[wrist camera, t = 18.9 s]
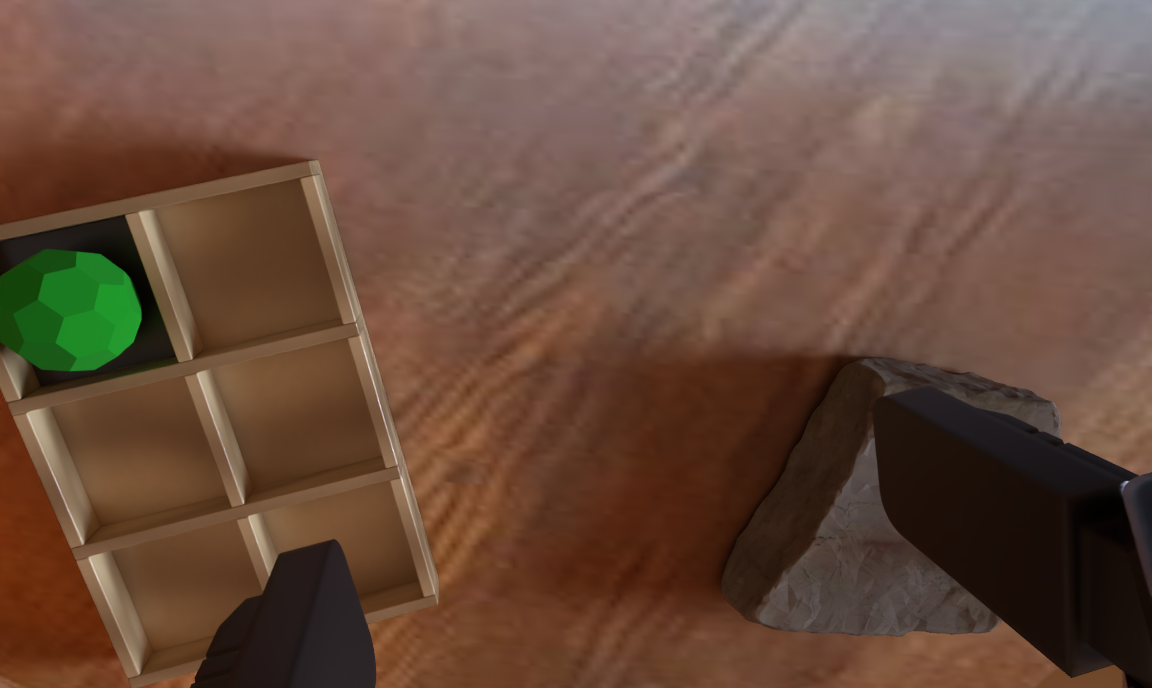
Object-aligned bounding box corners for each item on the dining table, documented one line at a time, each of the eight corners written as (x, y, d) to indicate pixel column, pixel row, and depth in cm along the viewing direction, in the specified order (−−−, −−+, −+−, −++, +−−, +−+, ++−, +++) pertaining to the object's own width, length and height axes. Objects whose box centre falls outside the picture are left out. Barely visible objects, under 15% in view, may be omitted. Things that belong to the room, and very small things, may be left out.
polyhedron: (83, 375, 33) (26, 410, 29) (4, 280, 32) (-70, 301, 27) (182, 317, 33) (141, 343, 29) (108, 219, 32) (52, 230, 27)
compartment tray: (-31, 231, 32) (-67, 238, 30) (318, 159, 34) (309, 160, 31) (150, 656, 38) (131, 689, 36) (438, 578, 39) (438, 605, 37)
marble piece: (712, 590, 42) (740, 636, 38) (779, 337, 39) (817, 358, 35) (969, 614, 46) (1019, 659, 42) (1048, 383, 43) (1110, 407, 39)
